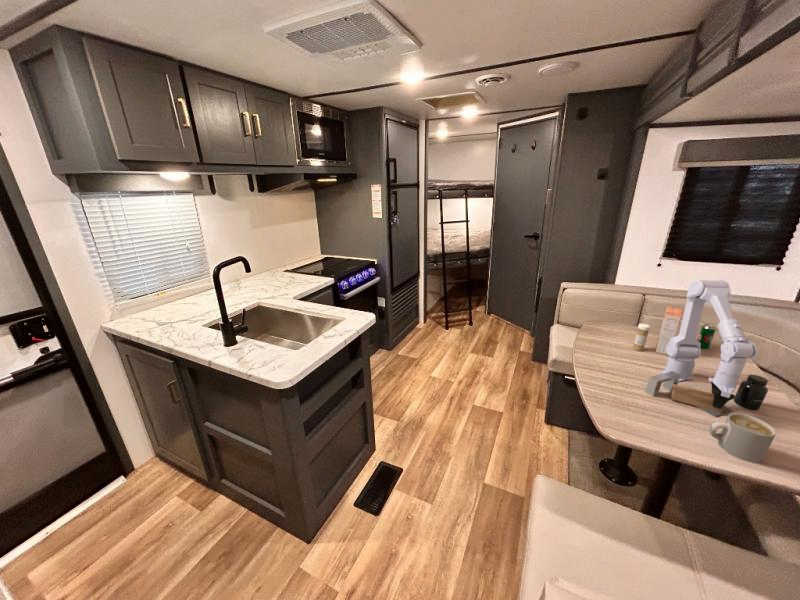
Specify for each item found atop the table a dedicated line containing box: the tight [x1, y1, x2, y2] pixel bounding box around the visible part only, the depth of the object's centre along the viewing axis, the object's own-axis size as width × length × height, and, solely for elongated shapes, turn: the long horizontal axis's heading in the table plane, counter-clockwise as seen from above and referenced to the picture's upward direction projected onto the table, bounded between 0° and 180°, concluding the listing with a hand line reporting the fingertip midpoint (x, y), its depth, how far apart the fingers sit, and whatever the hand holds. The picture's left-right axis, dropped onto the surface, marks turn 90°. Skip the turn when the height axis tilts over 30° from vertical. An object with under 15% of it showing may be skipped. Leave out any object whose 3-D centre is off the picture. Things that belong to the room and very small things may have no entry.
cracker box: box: [654, 305, 683, 357], centre depth 154 cm, size 14×6×21 cm, turn 138°
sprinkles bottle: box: [632, 323, 651, 352], centre depth 155 cm, size 5×5×14 cm
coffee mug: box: [708, 412, 777, 463], centre depth 97 cm, size 13×10×10 cm
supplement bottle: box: [733, 374, 769, 411], centre depth 115 cm, size 7×7×12 cm
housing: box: [644, 371, 680, 397], centre depth 125 cm, size 13×3×7 cm, turn 108°
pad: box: [695, 405, 733, 417], centre depth 119 cm, size 9×15×1 cm, turn 18°
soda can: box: [696, 323, 717, 350], centre depth 157 cm, size 5×5×12 cm
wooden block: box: [669, 384, 725, 412], centre depth 117 cm, size 4×14×5 cm, turn 58°
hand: (715, 403), depth 115 cm, fingers closed on wooden block, 5 cm apart
